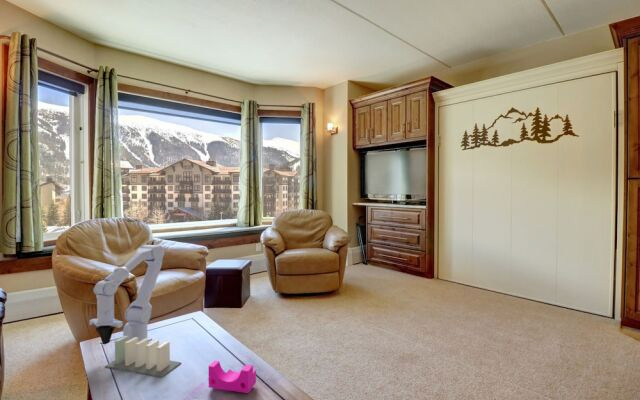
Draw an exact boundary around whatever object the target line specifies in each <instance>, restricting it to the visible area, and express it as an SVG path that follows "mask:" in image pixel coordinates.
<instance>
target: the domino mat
mask: <svg viewBox="0 0 640 400" xmlns="http://www.w3.org/2000/svg"><path fill="white" fill-rule="evenodd" d="M181 364H182V362H181V361H175V360H170V365H168V366H167V367H166V368H164V369H163V370H161V371H157V365H155V366H154V367H152V368H151V369H146V363H145V364H144V365H142V366H141V367H139V368H138V367H135V362H134V363H132V364H131V365H129V366H127V365H125V360H124V361H123V362H121V363H119V364H115V360H113V361H111V362H109V363H108V364H106V365H105V366H104V368H108V369H113V370H118V371H123V372H130V373H135V374H141V375H147V376H152V377H157V378H164V377H165V376H167V375H168V374H169V373H170V372H172V371H173V370H174V369H177V367H179V366H180V365H181Z"/></svg>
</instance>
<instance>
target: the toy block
mask: <svg viewBox="0 0 640 400" xmlns="http://www.w3.org/2000/svg"><path fill="white" fill-rule="evenodd" d="M256 383H257V369H254V365H252V364H245V365H244V366H243V367H242V368H241V370H240V371H233V370H231V369H229V370H227V372H226V371H225V370H224V369H223V368H222V366H221V363H220V360H214V361H212V362H211V363H210V364H209V365H208V388H210V389H218V390H224V391H231V392H239V393H246V394H249V393H250V391H251V390H252V389H253V388H254V386H255V385H256Z"/></svg>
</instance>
